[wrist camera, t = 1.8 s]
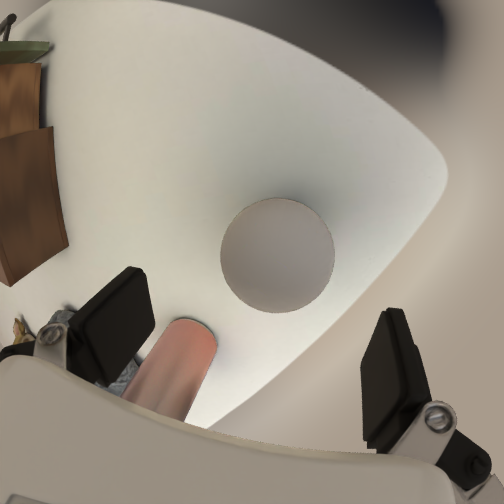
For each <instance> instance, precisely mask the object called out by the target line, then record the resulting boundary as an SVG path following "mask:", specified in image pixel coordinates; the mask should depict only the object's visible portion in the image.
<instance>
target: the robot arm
mask: <svg viewBox="0 0 504 504" xmlns="http://www.w3.org/2000/svg"><path fill="white" fill-rule="evenodd" d="M68 324H69V327H68V328H66V326H65V325H64V324H63V323H60V322H52V323H49V324H47V325H45V326H44V327H42V328H41V329H40V330H39V332H38V334H37V337H36V340H33V341H28V342H23V343H19V344H14V345H10V346H7V347H5V348H3V349H2V351H1V352H0V504H504V487H503V485H502V484H501V482H500V481H499V479H498V478H497V476H496V475H495V474H493V475H491V474H490V472H491V467H492V463H491V458H490V456H489V454H488V453H487V452H486V451H485V450H483V449H482V448H481V447H479V446H478V445H477V444H475V443H474V442H472V441H471V440H470V439H469V438H467V437H466V436H465V435H463V434H462V433H461V432H459V431H458V430H457V429H455V428H456V425H457V417H456V413H455V411H454V410H453V408H452V407H451V406H450V405H448V404H447V403H445V402H443V401H432V398H431V394H430V389H429V386H428V381H427V378H426V374H425V370H424V367H423V363H422V359H421V356H420V353H419V349H418V347H417V346H416V345H415V344H414V342H413V339H412V335H411V332H410V329H409V326H408V323H407V320H406V317H405V315H404V312H403V310H402V309H399V308H387V309H386V311H382V312H381V315H380V317H379V320H378V322H377V325H376V327H375V330H374V333H373V335H372V338H371V340H370V342H369V345H368V347H367V350H366V352H365V354H364V357H363V359H362V361H361V367H360V371H361V387H362V411H363V440H364V441H367V449H376V450H377V454H372V453H350V452H334V451H322V450H312V449H303V448H295V447H288V446H281V445H274V444H269V443H263V442H258V441H253V440H248V439H243V438H239V437H235V436H231V435H226V434H222V433H219V432H215V431H211V430H208V429H204V428H201V427H197V426H194V425H191V424H188V423H185V422H181V421H178V420H176V419H173V418H170V417H167V416H164V415H161V414H159V413H156V412H154V411H151V410H148V409H146V408H143V407H141V406H139V405H136V404H134V403H131V402H129V401H127V400H125V399H122V398H120V397H118V396H116V395H114V394H111V393H109V392H107V391H105V390H103V389H101V388H99V387H97V386H95V385H94V384H95V382H96V381H97V383H98V384H99V385H101V386H103V387H105V388H107V389H108V387H109V386H110V384H111V383H114V382H116V380H117V379H118V378H119V376H120V375H121V373H122V372H123V371H124V369H125V368H126V367H127V365H128V364H129V362H130V361H131V360H132V358H133V357H134V356H135V354H136V353H137V352H138V350H139V349H140V348H141V346H142V345H143V344H144V342H145V341H146V340H147V338H148V337H149V336H150V334H151V333H152V332H153V330H154V328H155V319H154V314H153V309H152V304H151V299H150V294H149V289H148V283H147V277H146V274H145V273H144V272H143V270H142V269H141V268H136V267H131V266H129V267H127V268H126V269H125V270H123V271H122V272H121V273H120V274H119V275H118V276H116V277H115V278H114V279H113V280H112V281H111V282H109V283H108V284H107V285H106V286H105V287H104V288H103V289H101V290H100V291H99V292H98V293H97V294H96V295H95V296H94V297H92V298H91V299H90V300H89V301H88V302H87V303H86V304H85V305H84V306H83V307H82V308H80V309H79V310H78V311H77V312H76V313H75V314H74V315H73V316H72V317H71V318H70V319H69V320H68Z"/></svg>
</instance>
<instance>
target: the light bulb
mask: <svg viewBox="0 0 504 504" xmlns="http://www.w3.org/2000/svg"><path fill="white" fill-rule="evenodd" d="M220 255H221V267H222V271H223V274H224V277H225V280H226V282H227V283H228V285H229V287H230V288H231V290H232V291H233V292H234V294H235V295H236V296H237V297H238V298H239V299H241V300H242V301H243V302H244V303H246V304H247V305H249V306H251V307H253V308H255V309H257V310H260V311H264V312H269V313H286V312H291V311H295V310H297V309H300V308H302V307H304V306H306V305H307V304H309V303H311V302H312V301H313V300H314V299H316V298H317V297H318V296H319V295H320V293H321V292H322V291H323V290H324V288H325V287H326V285H327V284H328V282H329V279H330V277H331V275H332V272H333V267H334V261H335V250H334V244H333V240H332V237H331V234H330V232H329V230H328V228H327V226H326V224H325V223H324V222H323V220H322V219H321V218H320V217H319V216H318V215H317V214H316V213H315V212H314V211H313V210H312V209H310V208H308V207H307V206H305V205H303V204H301V203H299V202H297V201H293V200H289V199H282V198H274V199H267V200H262V201H259V202H257V203H254V204H252V205H250V206H248V207H247V208H245V209H244V210H243V211H241V212H240V213H239V214H238V215H237V216H236V217H235V218H234V219H233V221H232V222H231V223H230V225H229V227H228V228H227V230H226V232H225V235H224V238H223V240H222V245H221V252H220Z"/></svg>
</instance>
